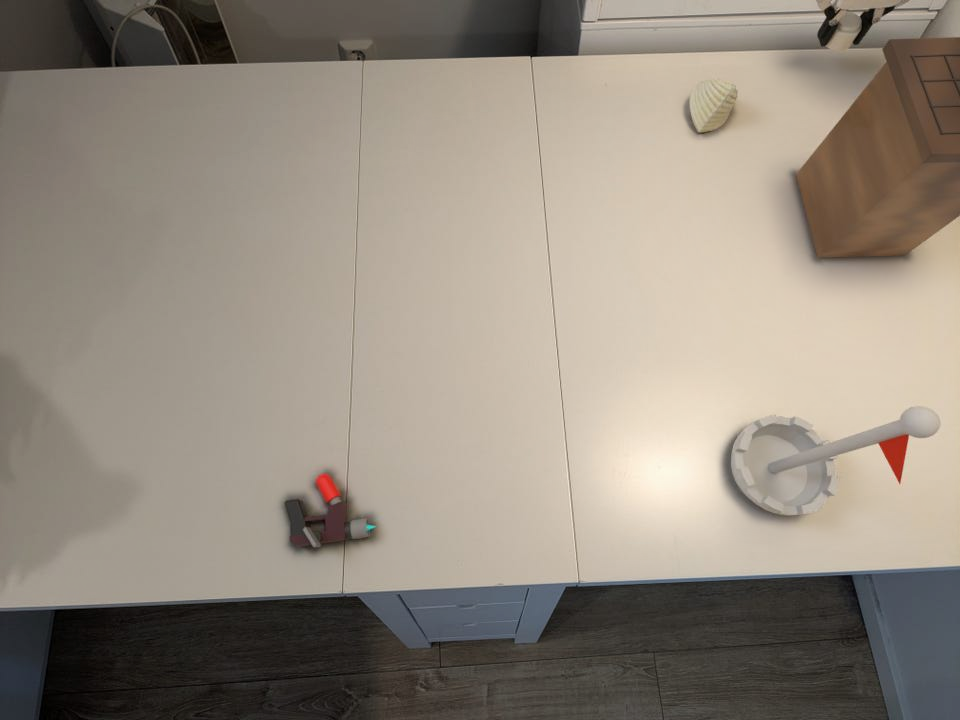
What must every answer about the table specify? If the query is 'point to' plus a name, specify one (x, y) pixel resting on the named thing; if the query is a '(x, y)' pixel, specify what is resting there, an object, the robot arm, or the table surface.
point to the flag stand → (812, 458)
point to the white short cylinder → (845, 32)
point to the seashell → (711, 103)
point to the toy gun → (334, 520)
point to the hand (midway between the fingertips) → (837, 39)
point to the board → (890, 157)
